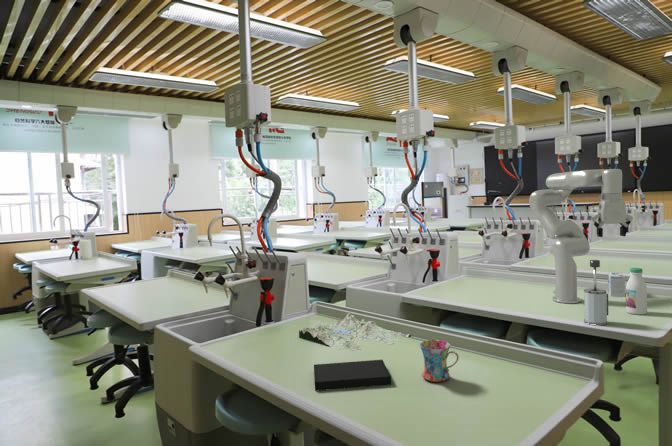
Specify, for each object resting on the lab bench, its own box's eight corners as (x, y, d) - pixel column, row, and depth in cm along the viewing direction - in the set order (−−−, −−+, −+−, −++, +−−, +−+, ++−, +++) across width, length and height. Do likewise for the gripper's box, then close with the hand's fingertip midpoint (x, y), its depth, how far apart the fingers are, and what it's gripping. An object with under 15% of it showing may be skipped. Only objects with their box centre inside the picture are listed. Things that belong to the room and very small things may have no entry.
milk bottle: (643, 310, 196) (643, 266, 195) (649, 315, 189) (649, 269, 188) (623, 310, 199) (623, 266, 198) (629, 314, 192) (628, 269, 191)
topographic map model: (411, 337, 177) (410, 325, 177) (362, 358, 157) (362, 345, 156) (347, 322, 203) (347, 312, 202) (299, 339, 182) (298, 327, 182)
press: (579, 320, 187) (579, 288, 186) (599, 318, 188) (599, 287, 187) (593, 326, 178) (593, 293, 178) (614, 324, 180) (614, 291, 179)
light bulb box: (607, 292, 234) (607, 272, 234) (622, 292, 231) (622, 272, 231) (610, 296, 225) (610, 275, 224) (625, 297, 222) (625, 276, 221)
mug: (416, 380, 135) (414, 346, 134) (427, 370, 143) (426, 338, 142) (454, 388, 128) (453, 353, 128) (463, 376, 136) (462, 343, 135)
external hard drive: (391, 386, 133) (390, 376, 133) (315, 392, 131) (314, 382, 131) (382, 368, 147) (382, 359, 147) (313, 373, 145) (313, 364, 145)
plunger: (584, 295, 185) (583, 259, 184) (596, 294, 185) (596, 259, 185) (593, 298, 179) (593, 261, 178) (606, 297, 180) (605, 260, 179)
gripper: (595, 198, 188) (595, 238, 189) (637, 196, 186) (637, 236, 188) (586, 198, 195) (586, 236, 196) (627, 196, 194) (626, 234, 195)
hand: (611, 236), depth 192 cm, fingers open, 9 cm apart
